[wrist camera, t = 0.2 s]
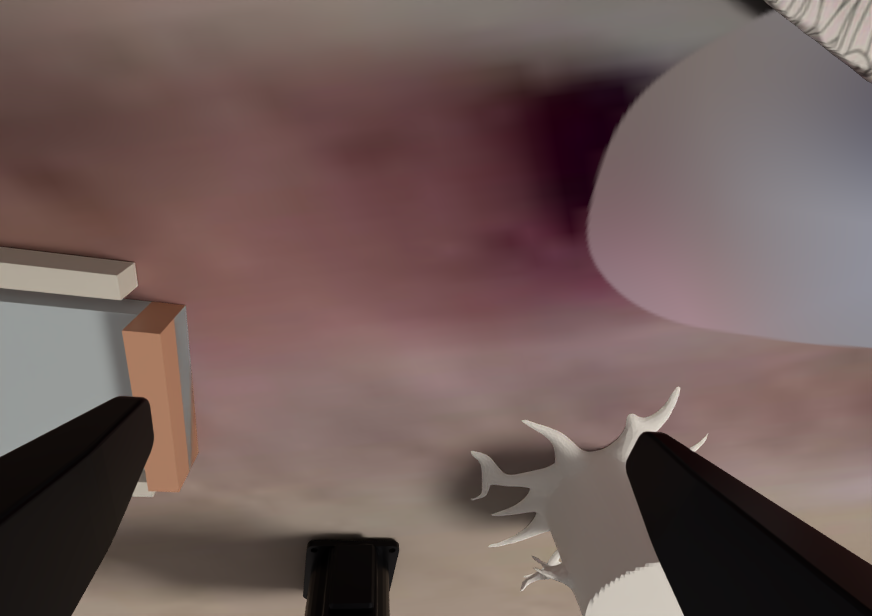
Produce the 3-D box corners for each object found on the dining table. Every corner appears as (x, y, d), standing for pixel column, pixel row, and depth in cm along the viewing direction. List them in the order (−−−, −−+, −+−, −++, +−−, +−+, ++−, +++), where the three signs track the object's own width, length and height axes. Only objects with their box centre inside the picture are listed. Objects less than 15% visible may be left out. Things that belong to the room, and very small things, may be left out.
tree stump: (460, 397, 26) (491, 516, 19) (752, 369, 28) (879, 468, 21) (459, 583, 36) (480, 708, 28) (677, 553, 37) (747, 664, 30)
